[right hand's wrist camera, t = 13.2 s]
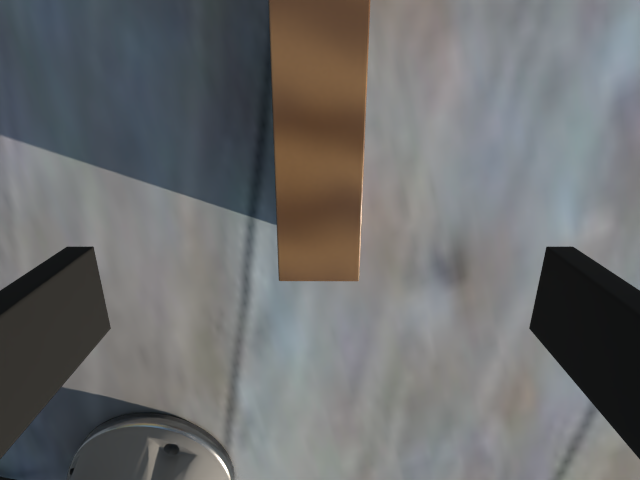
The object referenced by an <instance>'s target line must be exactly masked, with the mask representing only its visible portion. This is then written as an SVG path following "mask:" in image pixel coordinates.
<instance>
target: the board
mask: <svg viewBox="0 0 640 480" xmlns="http://www.w3.org/2000/svg"><path fill="white" fill-rule="evenodd" d="M369 18H370V0H269V26H270V53H271V80H272V107H273V134H274V161H275V188H276V215H277V242H278V269H279V281H359V267H360V243H361V218H362V193H363V168H364V143H365V118H366V93H367V68H368V43H369Z"/></svg>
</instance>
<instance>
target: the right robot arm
mask: <svg viewBox="0 0 640 480" xmlns="http://www.w3.org/2000/svg"><path fill="white" fill-rule="evenodd" d="M110 329H111V328H110V323H109V318H108V314H107V309H106V304H105V299H104V295H103V290H102V285H101V280H100V276H99V271H98V266H97V261H96V257H95V252H94V247H66V248H64V249H63V250H61V251H60V252H58V253H57V254H55V255H54V256H52V257H51V258H49V259H48V260H46V261H45V262H43V263H42V264H40V265H39V266H37V267H36V268H34V269H33V270H31V271H29V272H28V273H26V274H25V275H23V276H22V277H20V278H19V279H17V280H16V281H14V282H13V283H11V284H10V285H8V286H7V287H5V288H4V289H2V290H1V291H0V459H1V458H2V457H3V455H4V454H5V453H6V452H7V451H8V449H9V448H10V447H11V446H12V445H13V443H14V442H15V441H16V440H17V439H18V438H19V436H20V435H21V434H22V433H23V432H24V430H25V429H26V428H27V427H28V426H29V425H30V423H31V422H32V421H33V420H34V419H35V417H36V416H37V415H38V414H39V413H40V411H41V410H42V409H43V408H44V407H45V406H46V404H47V403H48V402H49V401H50V400H51V398H52V397H53V396H54V395H55V394H56V393H57V391H58V390H59V389H60V388H61V387H62V385H63V384H64V383H65V382H66V381H67V379H68V378H69V377H70V376H71V375H72V374H73V372H74V371H75V370H76V369H77V368H78V366H79V365H80V364H81V363H82V362H83V361H84V359H85V358H86V357H87V356H88V355H89V353H90V352H91V351H92V350H93V349H94V347H95V346H96V345H97V344H98V343H99V342H100V340H101V339H102V338H103V337H104V336H105V334H106V333H107V332H108V331H109V330H110ZM529 329H530V330H531V331H532V332H533V333H534V334H535V336H536V337H537V338H538V339H539V340H540V342H541V343H542V344H543V345H544V346H545V348H546V349H547V350H548V351H549V352H550V353H551V355H552V356H553V357H554V358H555V359H556V361H557V362H558V363H559V364H560V365H561V366H562V368H563V369H564V370H565V371H566V372H567V374H568V375H569V376H570V377H571V378H572V379H573V381H574V382H575V383H576V384H577V385H578V387H579V388H580V389H581V390H582V391H583V393H584V394H585V395H586V396H587V397H588V398H589V400H590V401H591V402H592V403H593V404H594V406H595V407H596V408H597V409H598V410H599V411H600V413H601V414H602V415H603V416H604V417H605V419H606V420H607V421H608V422H609V423H610V425H611V426H612V427H613V428H614V429H615V430H616V432H617V433H618V434H619V435H620V436H621V438H622V439H623V440H624V441H625V442H626V443H627V445H628V446H629V447H630V448H631V449H632V451H633V452H634V453H635V454H636V455H637V457H638V458H639V459H640V291H639V290H638V289H636V288H635V287H633V286H632V285H630V284H629V283H627V282H626V281H624V280H623V279H621V278H620V277H618V276H617V275H615V274H614V273H612V272H611V271H609V270H607V269H606V268H604V267H603V266H601V265H600V264H598V263H597V262H595V261H594V260H592V259H591V258H589V257H588V256H586V255H585V254H583V253H582V252H580V251H579V250H577V249H576V248H574V247H546V252H545V257H544V261H543V266H542V271H541V276H540V280H539V285H538V290H537V295H536V299H535V304H534V309H533V314H532V318H531V323H530V328H529ZM0 480H15V479H9V478H4V477H1V476H0ZM67 480H234V469H233V465H232V462H231V460H230V458H229V455H228V454H227V452H226V451H225V449H224V448H223V447H222V445H221V444H220V443H219V442H218V441H217V440H216V439H215V438H214V437H213V436H211V435H210V434H209V433H208V432H206V431H205V430H203V429H201V428H200V427H198V426H196V425H194V424H192V423H190V422H188V421H185V420H183V419H180V418H177V417H173V416H169V415H163V414H156V413H135V414H128V415H123V416H119V417H116V418H113V419H111V420H108V421H106V422H104V423H103V424H101V425H99V426H98V427H97V428H95V429H94V430H93V431H92V432H91V433H90V434H89V435H88V436H87V437H86V439H85V440H84V442H83V443H82V445H81V446H80V448H79V450H78V451H77V453H76V454H75V456H74V458H73V460H72V463H71V465H70V468H69V471H68V475H67Z"/></svg>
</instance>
